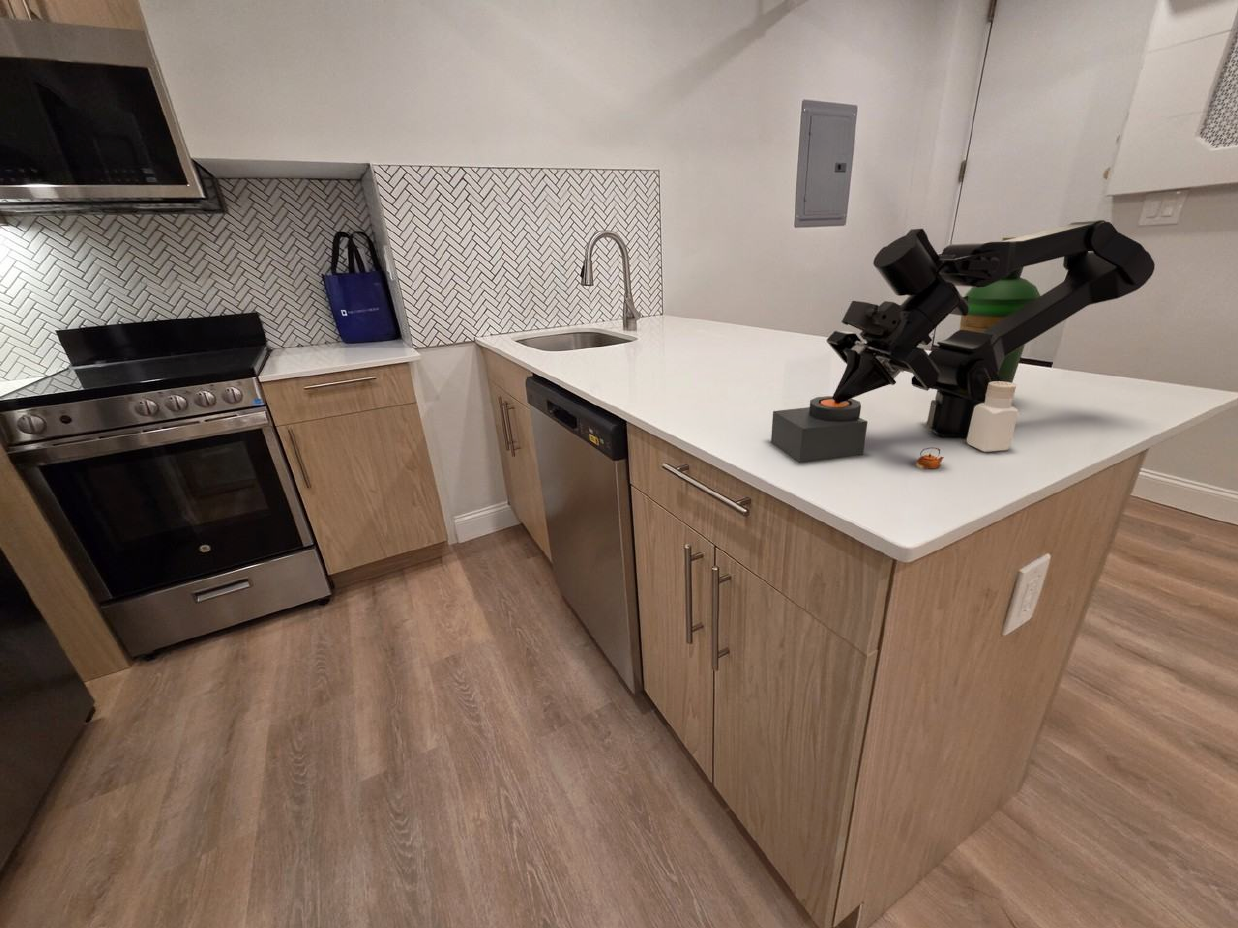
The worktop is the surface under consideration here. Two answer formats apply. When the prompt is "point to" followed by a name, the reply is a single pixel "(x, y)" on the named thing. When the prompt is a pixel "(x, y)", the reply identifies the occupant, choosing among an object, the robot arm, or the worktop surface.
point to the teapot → (929, 461)
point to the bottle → (999, 310)
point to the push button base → (820, 431)
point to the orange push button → (834, 403)
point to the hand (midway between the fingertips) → (835, 400)
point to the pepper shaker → (994, 418)
